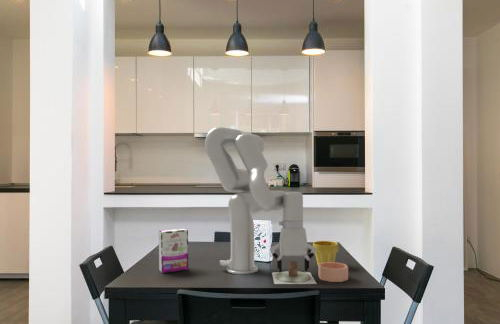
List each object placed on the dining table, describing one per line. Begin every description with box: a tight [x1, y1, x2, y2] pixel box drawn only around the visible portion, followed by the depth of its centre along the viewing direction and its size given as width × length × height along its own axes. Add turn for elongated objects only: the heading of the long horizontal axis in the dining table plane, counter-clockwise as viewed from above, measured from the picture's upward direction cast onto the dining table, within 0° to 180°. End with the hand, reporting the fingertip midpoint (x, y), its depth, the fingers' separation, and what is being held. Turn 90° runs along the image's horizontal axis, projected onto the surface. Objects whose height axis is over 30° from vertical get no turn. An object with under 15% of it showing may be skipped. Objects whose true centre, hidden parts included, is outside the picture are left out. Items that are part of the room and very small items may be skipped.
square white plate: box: [271, 271, 318, 285], centre depth 145 cm, size 15×15×1 cm
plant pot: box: [312, 240, 339, 266], centre depth 165 cm, size 10×10×10 cm
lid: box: [276, 260, 311, 283], centre depth 146 cm, size 13×13×6 cm
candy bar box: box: [158, 228, 189, 274], centre depth 158 cm, size 11×5×16 cm, turn 117°
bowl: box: [317, 262, 349, 283], centre depth 146 cm, size 10×10×5 cm
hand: (293, 270), depth 145 cm, fingers open, 9 cm apart
